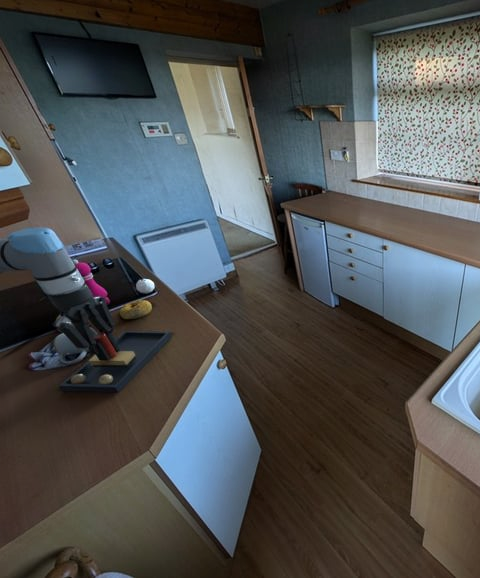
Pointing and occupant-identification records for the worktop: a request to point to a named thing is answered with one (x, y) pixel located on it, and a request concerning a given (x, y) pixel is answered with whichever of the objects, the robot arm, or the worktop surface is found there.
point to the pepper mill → (90, 281)
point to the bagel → (135, 309)
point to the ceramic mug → (69, 348)
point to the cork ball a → (78, 379)
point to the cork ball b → (105, 379)
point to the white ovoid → (145, 285)
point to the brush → (111, 354)
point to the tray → (144, 350)
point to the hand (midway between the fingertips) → (109, 355)
